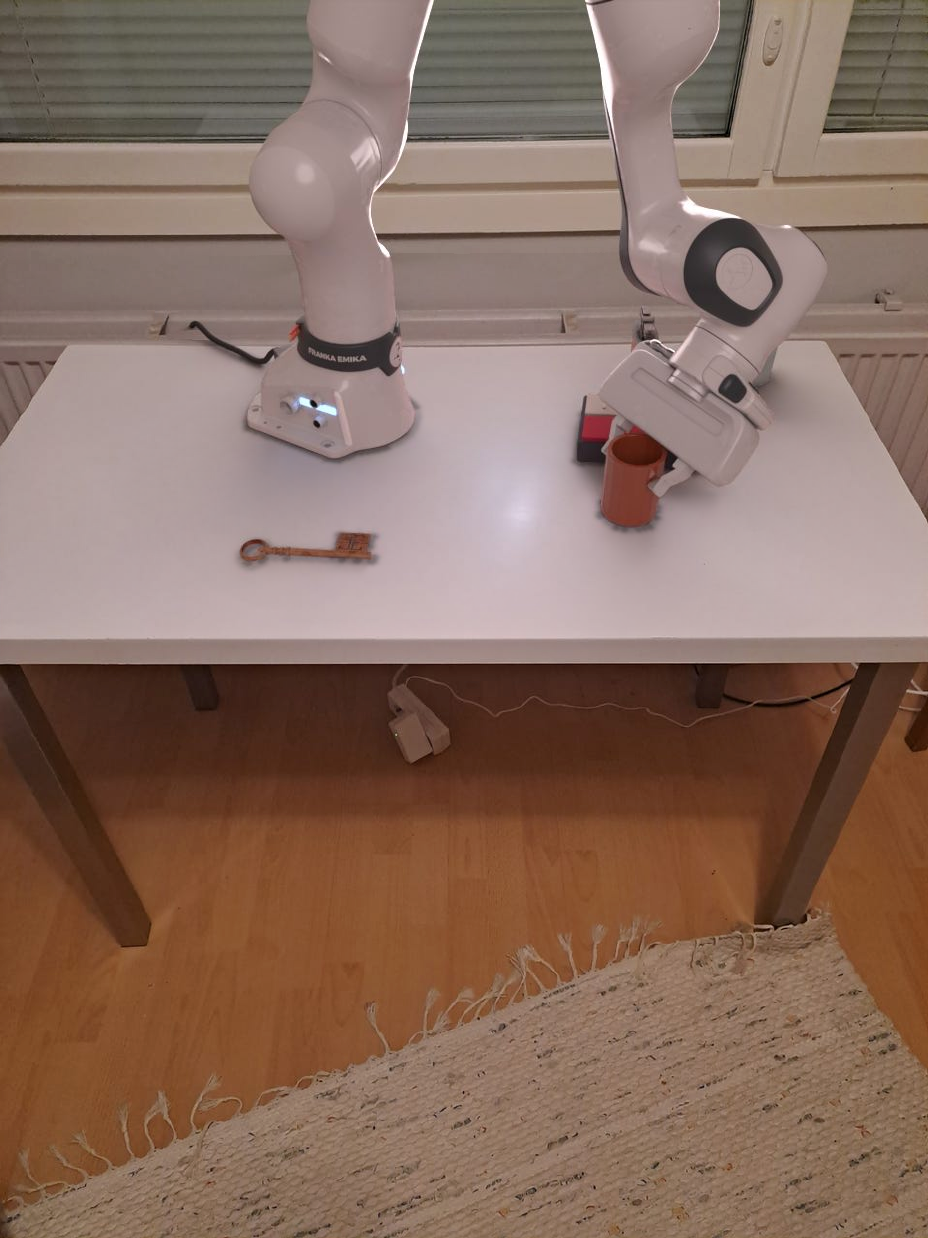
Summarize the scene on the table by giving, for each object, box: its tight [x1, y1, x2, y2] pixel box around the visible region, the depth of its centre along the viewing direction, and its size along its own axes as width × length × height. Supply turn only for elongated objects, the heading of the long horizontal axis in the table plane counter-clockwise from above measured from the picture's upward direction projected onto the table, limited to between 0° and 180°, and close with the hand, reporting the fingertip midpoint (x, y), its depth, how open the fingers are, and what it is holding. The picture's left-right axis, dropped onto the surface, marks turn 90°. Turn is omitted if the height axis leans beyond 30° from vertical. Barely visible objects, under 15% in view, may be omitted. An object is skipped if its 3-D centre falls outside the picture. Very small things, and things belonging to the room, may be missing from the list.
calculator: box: [576, 393, 697, 472], centre depth 117 cm, size 11×4×15 cm
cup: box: [600, 433, 667, 528], centre depth 106 cm, size 7×7×8 cm
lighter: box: [629, 305, 660, 354], centre depth 125 cm, size 8×3×10 cm, turn 179°
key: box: [239, 531, 372, 562], centre depth 105 cm, size 6×1×15 cm
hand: (629, 474), depth 105 cm, fingers closed on cup, 7 cm apart
